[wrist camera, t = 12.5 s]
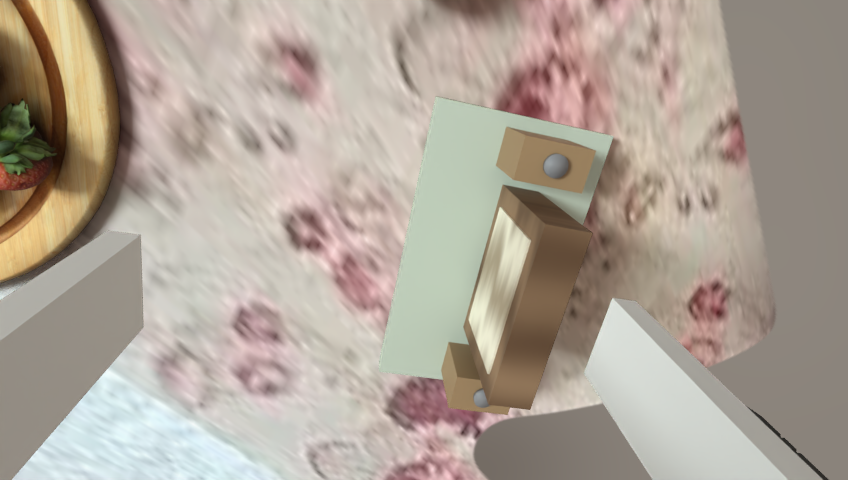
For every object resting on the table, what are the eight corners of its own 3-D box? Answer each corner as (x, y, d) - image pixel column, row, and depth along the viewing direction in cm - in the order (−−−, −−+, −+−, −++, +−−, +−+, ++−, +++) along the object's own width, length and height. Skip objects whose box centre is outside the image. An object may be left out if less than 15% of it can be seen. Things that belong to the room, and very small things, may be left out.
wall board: (435, 96, 35) (448, 101, 28) (604, 133, 37) (652, 147, 30) (379, 361, 42) (378, 413, 36) (521, 380, 45) (545, 432, 38)
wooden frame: (500, 184, 36) (543, 224, 27) (540, 191, 36) (595, 233, 27) (461, 326, 40) (486, 404, 31) (497, 331, 41) (532, 409, 31)
